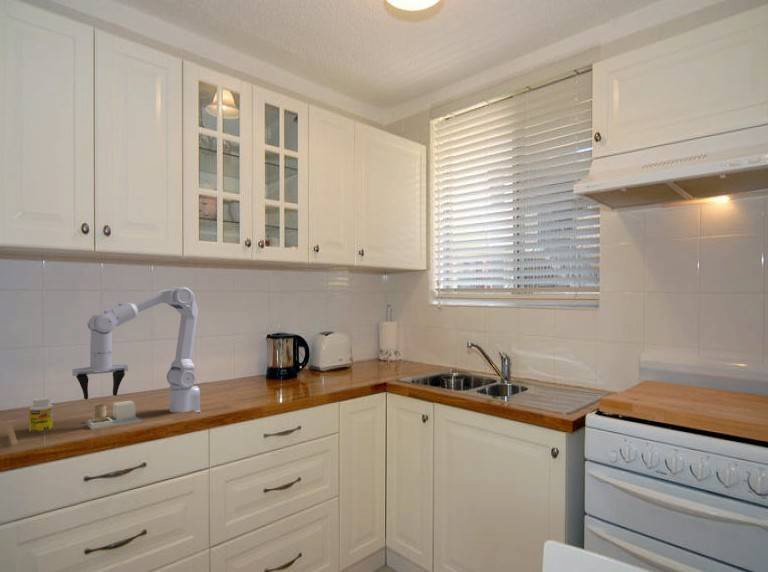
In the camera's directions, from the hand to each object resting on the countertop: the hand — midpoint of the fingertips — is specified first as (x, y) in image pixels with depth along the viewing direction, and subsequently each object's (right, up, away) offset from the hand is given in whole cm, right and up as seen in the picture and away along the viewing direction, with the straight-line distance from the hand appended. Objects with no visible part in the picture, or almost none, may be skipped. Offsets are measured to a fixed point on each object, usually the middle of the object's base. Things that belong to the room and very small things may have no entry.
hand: (100, 396), depth 141 cm
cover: (+1, -9, +10) cm, 14 cm away
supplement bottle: (-15, -10, -4) cm, 19 cm away
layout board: (+1, -10, +5) cm, 11 cm away
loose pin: (0, -9, 0) cm, 9 cm away
